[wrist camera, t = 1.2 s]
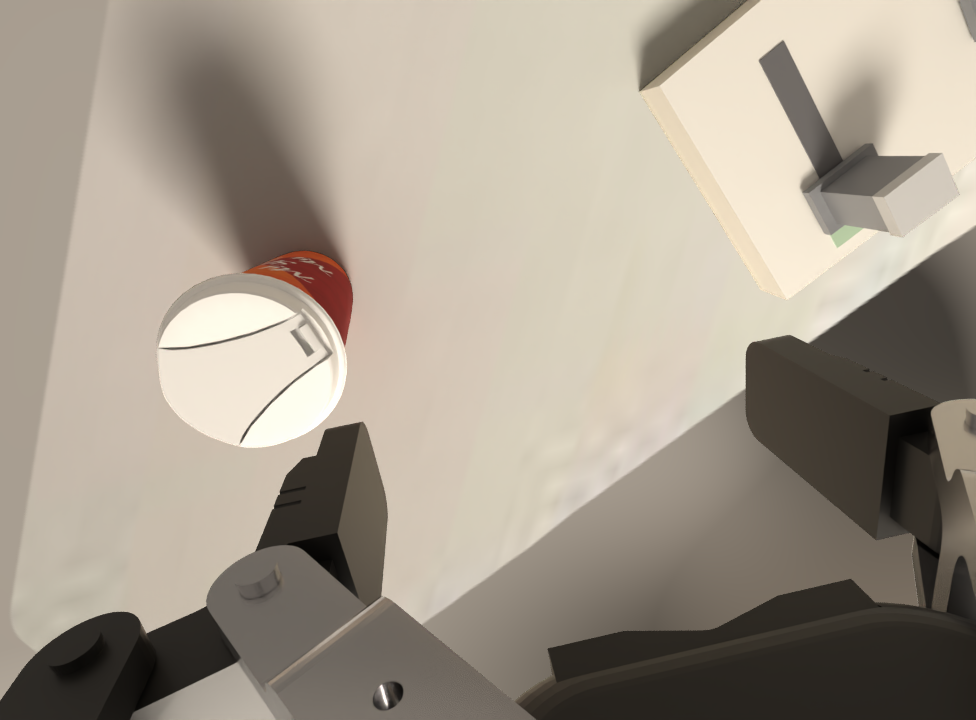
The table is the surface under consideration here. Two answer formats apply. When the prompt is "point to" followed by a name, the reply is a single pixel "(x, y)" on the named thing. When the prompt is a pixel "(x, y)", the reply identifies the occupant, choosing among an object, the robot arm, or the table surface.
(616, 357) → the table surface
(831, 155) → the switch box
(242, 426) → the paper cup
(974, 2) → the orange and grey block
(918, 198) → the on lever
